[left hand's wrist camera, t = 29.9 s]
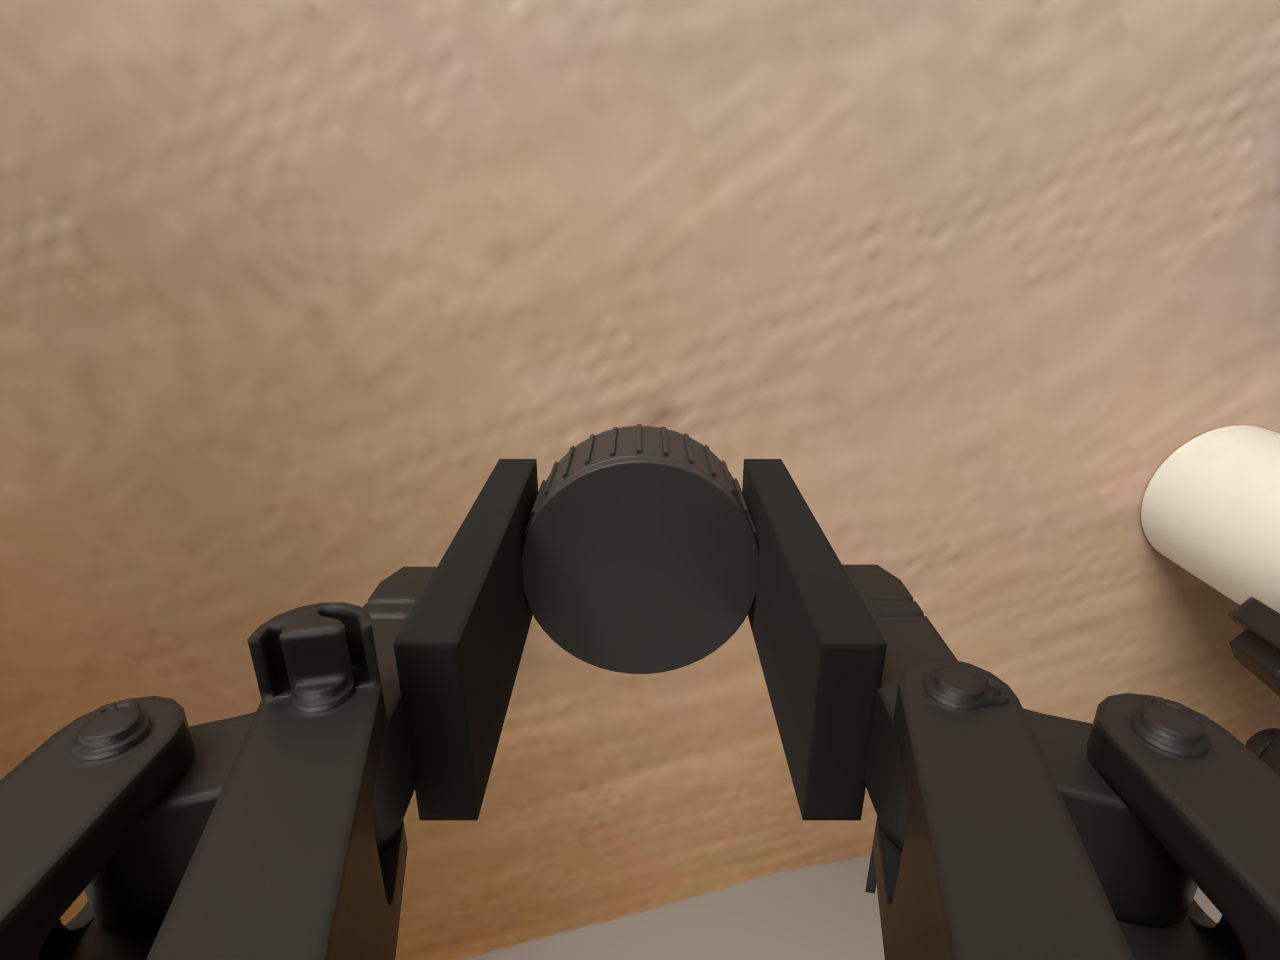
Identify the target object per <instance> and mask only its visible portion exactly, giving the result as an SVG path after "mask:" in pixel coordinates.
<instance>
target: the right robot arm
mask: <svg viewBox="0 0 1280 960" xmlns="http://www.w3.org/2000/svg"><path fill="white" fill-rule="evenodd" d="M1228 616H1229V617H1230V618H1231V619H1232V620H1234V621H1235V622H1236V623H1237V624H1238V625H1239V626H1240V627H1241V628H1243V629H1244V630H1245V631H1244V632H1243V633H1241V634H1240V635H1239V636H1237V637H1236V638H1235V639H1234V640H1232V641H1231V642H1230V645H1231V648H1232V651H1233V654H1234V658H1236V659H1237V660H1238V661H1239V662H1240V663H1241V664H1242V665H1244V666H1245V667H1246V668H1247V669H1248V670H1249V671H1251V672H1252V673H1253V674H1254V675H1255V676H1256V677H1258V678H1259V679H1260V680H1261V681H1262V682H1263V683H1264V684H1266V685H1267V686H1268V687H1269V688H1270V689H1271V690H1272V691H1274V692H1275V693H1276V694H1277V695H1278V696H1279V697H1280V613H1278V612H1276V611H1275V610H1273V609H1272V608H1270V607H1268V606H1267V605H1265V604H1264V603H1262V602H1260V601H1259V600H1257V599H1255V598H1253V597H1249V598H1248V599H1247V600H1246V601H1244V602H1243V603H1242V604H1241V605H1239V606H1238V607H1237V608H1236V609H1234V610H1233V611H1232V612H1231V613H1229V614H1228ZM1245 746H1246V747H1247V748H1248V749H1249V750H1250V751H1252V752H1253V753H1254V754H1255V755H1256V756H1257V757H1259V758H1260V759H1261V760H1262V761H1263V762H1265V763H1266V764H1267V765H1268V766H1269V767H1270V768H1272V769H1273V770H1274V771H1275V772H1276V773H1277V774H1279V775H1280V729H1274V728H1272V729H1266V730H1262V731H1260V732H1258V733H1256V734H1255V735H1253V736H1252V737H1251V738H1250V739H1249V740H1248V741H1247V743H1246V745H1245Z"/></svg>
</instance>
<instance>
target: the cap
mask: <svg viewBox="0 0 1280 960" xmlns="http://www.w3.org/2000/svg"><path fill="white" fill-rule="evenodd" d="M530 515H531V517H530V520H529V523H528V525H527V528H526V531H525V540H524V544H523V548H522V571H523V585H524V595H525V597H526V600H527V603H528V606H529V608H530V610H531V611H532V613H533V615H534V617H535V619H536V620H537V622H538V623H539V625H540V626H541V627H542V629H543V630H544V631H545V632H546V633H547V634H548V636H549V637H550V638H551V639H552V640H553V641H554V642H556V643H557V644H558V645H559V646H560V647H562V648H563V649H564V650H565V651H567V652H569V653H570V654H572V655H573V656H575V657H576V658H578V659H580V660H583V661H585V662H587V663H589V664H591V665H594V666H597V667H600V668H603V669H607V670H611V671H615V672H622V673H630V674H649V673H659V672H665V671H670V670H674V669H678V668H681V667H684V666H687V665H690V664H692V663H694V662H696V661H698V660H700V659H702V658H704V657H706V656H707V655H709V654H711V653H712V652H714V651H715V650H716V649H718V648H719V647H720V646H721V645H723V644H724V643H725V642H726V641H727V640H728V639H729V638H730V637H731V636H732V635H733V634H734V633H735V632H736V631H737V629H738V628H739V627H740V625H741V624H742V623H743V621H744V620H745V618H746V616H747V614H748V613H749V611H750V609H751V607H752V604H753V602H754V599H755V597H756V591H757V578H758V563H759V550H758V545H757V541H756V538H755V536H756V530H755V527H754V524H753V522H752V519H751V516H750V513H749V510H748V507H747V505H746V502H745V499H744V496H743V494H742V491H741V488H740V485H739V483H738V480H737V479H733V477H732V476H731V474H730V472H729V471H728V468H727V465H726V463H725V461H724V460H723V461H720V460H719V459H718V458H717V457H716V456H715V455H714V454H713V453H712V452H711V451H710V449H709V447H708V446H707V445H705V446H703V445H702V444H700V443H699V442H697V441H695V440H693V439H692V438H690V437H689V435H688V434H686V433H685V434H684V435H683V434H680V433H678V432H675V431H671V430H668V429H666V427H661V428H658V427H650V426H641V424H637V426H631V427H622V428H617V427H613V430H609V431H605V432H603V433H600V434H598V435H594V434H593V435H591V436H590V438H589V439H587V440H585V441H584V442H582V443H580V444H579V445H577V446H576V447H574V446H572V447H571V448H570V450H569V452H568V453H567V454H566V455H565V456H564V457H563V458H562V459H561V460H560V461H559V462H555V463H554V465H553V468H552V471H551V473H550V475H549V477H548V478H547V480H546V481H545V480H543V482H542V484H541V487H540V489H539V492H538V495H537V497H536V500H535V503H534V506H533V508H532V511H531V514H530Z"/></svg>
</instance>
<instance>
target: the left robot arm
mask: <svg viewBox="0 0 1280 960" xmlns="http://www.w3.org/2000/svg"><path fill="white" fill-rule="evenodd" d="M742 494H743V496H744V499H745V502H746V505H747V507H748V510H749V513H750V516H751V519H752V522H753V524H754V527H755V530H756V536H755V538H756V541H757V545H758V550H759V563H758V578H757V591H756V597H755V599H754V602H753V604H752V607H751V609H750V611H749V613H748V617H749V621H750V625H751V629H752V632H753V636H754V640H755V644H756V647H757V651H758V655H759V658H760V662H761V666H762V670H763V673H764V677H765V681H766V684H767V688H768V692H769V696H770V699H771V703H772V707H773V711H774V714H775V718H776V722H777V725H778V729H779V733H780V737H781V740H782V744H783V748H784V751H785V755H786V759H787V763H788V766H789V770H790V774H791V778H792V781H793V785H794V789H795V792H796V796H797V800H798V804H799V807H800V811H801V815H802V818H803V820H861V815H862V809H863V802H864V795H865V789H866V788H867V790H868V793H869V796H870V798H871V801H872V803H873V806H874V808H875V811H876V813H877V822H876V828H875V834H874V841H873V847H872V853H871V859H870V865H869V872H868V878H867V885H866V892H870V893H875V889H876V883H877V891H878V900H879V909H880V918H881V927H882V936H883V945H884V954H885V960H1280V775H1279V774H1277V773H1276V772H1275V771H1274V770H1273V769H1272V768H1270V767H1269V766H1268V765H1267V764H1266V763H1265V762H1263V761H1262V760H1261V759H1260V758H1259V757H1257V756H1256V755H1255V754H1254V753H1253V752H1252V751H1250V750H1249V749H1248V748H1247V747H1246V746H1245V745H1243V744H1242V743H1241V742H1240V741H1239V740H1238V739H1236V738H1235V737H1234V736H1233V735H1232V734H1230V733H1229V732H1228V731H1227V730H1225V729H1224V728H1222V727H1221V726H1219V725H1218V724H1216V723H1215V722H1214V721H1212V720H1211V719H1209V718H1208V717H1206V716H1205V715H1202V714H1200V713H1198V712H1196V711H1194V710H1192V709H1189V708H1187V707H1185V706H1184V705H1182V704H1180V703H1177V702H1174V701H1171V700H1168V699H1167V700H1165V699H1163V698H1160V697H1155V696H1150V695H1140V694H1130V693H1125V694H1119V695H1113V696H1108V697H1107V698H1106V699H1105V700H1103V701H1102V702H1101V703H1100V704H1099V705H1098V708H1097V711H1096V715H1095V718H1094V721H1093V724H1090V723H1085V722H1081V721H1076V720H1071V719H1066V718H1061V717H1056V716H1051V715H1046V714H1042V713H1038V712H1034V711H1031V710H1027V709H1023V708H1022V706H1021V704H1020V702H1019V699H1018V698H1017V697H1016V695H1015V694H1014V693H1013V691H1012V690H1011V689H1010V687H1009V686H1008V685H1007V684H1006V683H1004V682H1003V681H1001V680H1000V679H999V678H997V677H996V676H994V675H993V674H992V673H990V672H988V671H986V670H983V669H981V668H979V667H976V666H974V665H972V664H969V663H965V662H960V661H958V660H957V659H956V657H955V656H954V655H953V653H952V652H951V650H950V649H949V648H948V646H947V645H946V643H945V642H944V641H943V639H942V638H941V636H940V635H939V634H938V632H937V631H936V629H935V628H934V627H933V625H932V624H931V622H930V621H929V620H928V618H927V617H926V616H924V615H923V611H922V610H921V608H920V607H919V606H918V604H917V603H916V601H913V597H912V596H911V594H910V593H909V591H908V590H907V589H906V587H905V586H904V584H903V583H902V582H901V580H900V579H898V578H896V577H895V576H893V575H892V574H890V573H889V572H887V571H886V570H884V569H883V568H881V567H880V566H878V565H842V564H841V562H840V561H839V559H838V557H837V555H836V554H835V552H834V550H833V549H832V547H831V545H830V543H829V542H828V540H827V538H826V536H825V535H824V533H823V531H822V529H821V528H820V526H819V524H818V523H817V521H816V519H815V517H814V516H813V514H812V512H811V510H810V509H809V507H808V505H807V503H806V502H805V500H804V498H803V497H802V495H801V493H800V491H799V490H798V488H797V486H796V484H795V483H794V481H793V479H792V477H791V476H790V474H789V472H788V471H787V469H786V467H785V465H784V464H783V462H782V460H781V459H744V470H743V488H742ZM537 495H538V480H537V462H536V459H499V461H498V463H497V464H496V466H495V468H494V470H493V471H492V473H491V475H490V477H489V478H488V480H487V482H486V483H485V485H484V487H483V489H482V490H481V492H480V494H479V496H478V497H477V499H476V501H475V503H474V504H473V506H472V508H471V509H470V511H469V513H468V515H467V516H466V518H465V520H464V522H463V523H462V525H461V527H460V529H459V530H458V532H457V534H456V536H455V537H454V539H453V541H452V542H451V544H450V546H449V548H448V549H447V551H446V553H445V555H444V556H443V558H442V560H441V562H440V563H439V565H438V567H403V568H401V569H400V570H398V571H397V572H395V573H394V574H392V575H391V576H389V577H388V578H386V579H385V580H383V581H382V582H380V584H379V585H378V587H377V588H376V589H375V591H374V592H373V594H372V595H371V596H370V598H369V599H368V604H365V605H364V606H363V608H361V607H360V606H356V605H352V604H347V603H319V604H313V605H308V606H303V607H299V608H296V609H293V610H291V611H288V612H285V613H282V614H280V615H277V616H275V617H274V618H272V619H271V620H269V621H267V622H266V623H264V624H262V625H261V626H259V627H258V628H257V629H256V630H255V632H254V633H253V634H252V635H251V636H250V637H249V638H248V643H249V648H250V652H251V656H252V660H253V665H254V669H255V673H256V677H257V681H258V686H259V690H260V694H261V698H262V701H261V703H260V705H259V707H258V710H257V712H254V713H250V714H246V715H243V716H239V717H234V718H229V719H224V720H219V721H215V722H210V723H205V724H200V725H195V726H190V727H189V726H188V723H187V719H186V716H185V712H184V709H183V707H182V706H180V705H179V704H178V703H177V702H176V701H174V700H173V699H168V698H162V697H156V696H152V697H142V698H132V699H127V700H122V701H118V702H117V703H115V702H114V703H111V704H108V705H105V706H102V707H100V708H98V709H97V710H95V711H92V712H90V713H88V714H86V715H84V716H82V717H80V718H77V719H76V720H74V721H73V722H71V723H70V724H68V725H67V726H66V727H64V728H63V729H61V730H60V731H58V732H57V733H55V734H54V735H53V736H52V737H50V738H49V739H48V740H47V741H46V742H45V743H43V744H42V745H41V746H40V747H39V748H38V749H36V750H35V751H34V752H33V753H32V754H31V755H29V756H28V757H27V758H26V759H25V760H24V761H22V762H21V763H20V764H19V765H18V766H17V767H15V768H14V769H13V770H12V771H11V772H10V773H9V774H7V775H6V776H5V777H4V778H3V779H2V780H0V960H395V956H396V947H397V938H398V929H399V920H400V911H401V902H402V893H403V883H404V874H405V865H406V856H407V841H406V834H405V828H404V822H403V818H404V816H405V813H406V810H407V808H408V805H409V803H410V800H411V798H412V795H413V793H414V790H415V792H416V799H417V805H418V812H419V819H420V820H478V816H479V813H480V809H481V805H482V802H483V798H484V794H485V790H486V787H487V783H488V779H489V776H490V772H491V768H492V764H493V761H494V757H495V753H496V749H497V746H498V742H499V738H500V735H501V731H502V727H503V723H504V720H505V716H506V712H507V708H508V705H509V701H510V697H511V694H512V690H513V686H514V682H515V679H516V675H517V671H518V668H519V664H520V660H521V656H522V653H523V649H524V645H525V641H526V638H527V634H528V630H529V627H530V623H531V619H532V615H533V613H532V611H531V610H530V608H529V606H528V603H527V600H526V597H525V595H524V585H523V571H522V548H523V544H524V540H525V531H526V528H527V525H528V523H529V520H530V517H531V515H530V514H531V511H532V508H533V506H534V503H535V500H536V497H537ZM1198 887H1199V888H1200V889H1201V890H1202V891H1203V893H1204V894H1205V895H1206V896H1207V897H1208V898H1209V900H1210V901H1211V902H1212V903H1213V904H1214V905H1215V907H1216V908H1217V909H1218V910H1219V911H1220V912H1221V914H1222V917H1221V920H1220V921H1219V922H1218V924H1217V923H1215V922H1214V921H1213V920H1212V919H1211V918H1210V917H1209V916H1208V915H1207V914H1206V913H1205V912H1204V911H1203V910H1202V909H1201V908H1200V906H1199V905H1198V904H1197V903H1196V902H1195V900H1194V899H1193V898H1194V895H1195V893H1196V890H1197V888H1198ZM83 890H84V891H85V894H86V896H87V899H88V903H87V904H86V905H85V906H84V907H83V909H82V910H81V911H80V912H79V913H78V915H77V916H76V917H74V918H73V919H72V920H71V921H70V922H69V923H68V924H66V925H65V926H64V925H63V924H62V923H61V920H60V917H61V916H62V915H63V914H64V913H65V911H66V910H67V909H68V908H69V907H70V905H71V904H72V903H73V902H74V901H75V900H76V898H77V897H78V896H79V895H80V894H81V893H82V891H83Z"/></svg>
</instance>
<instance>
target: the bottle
mask: <svg viewBox="0 0 1280 960" xmlns="http://www.w3.org/2000/svg"><path fill="white" fill-rule="evenodd" d="M1141 521H1142V527H1143V530H1144V533H1145V535H1146V537H1147V539H1148V541H1149V542H1150V544H1151V545H1152V546H1153V547H1154V548H1155V549H1156V550H1157V551H1158V552H1159V553H1160V554H1162V555H1163V556H1165V557H1167V558H1168V559H1170V560H1171V561H1173V562H1174V563H1176V564H1177V565H1179V566H1180V567H1182V568H1183V569H1185V570H1186V571H1188V572H1190V573H1191V574H1193V575H1194V576H1196V577H1197V578H1199V579H1200V580H1202V581H1203V582H1205V583H1206V584H1208V585H1209V586H1211V587H1213V588H1214V589H1216V590H1217V591H1219V592H1220V593H1222V594H1223V595H1225V596H1226V597H1228V598H1229V599H1231V600H1232V601H1234V602H1236V603H1237V604H1239V605H1241V604H1242V603H1243V602H1244V601H1246V600H1247V599H1248V598H1249V597H1253V598H1255V599H1257V600H1259V601H1260V602H1262V603H1264V604H1265V605H1267V606H1268V607H1270V608H1272V609H1273V610H1275V611H1276V612H1278V613H1280V434H1278V433H1275V432H1273V431H1270V430H1267V429H1264V428H1260V427H1256V426H1250V425H1237V426H1228V427H1223V428H1218V429H1215V430H1212V431H1209V432H1206V433H1204V434H1202V435H1200V436H1197V437H1196V438H1194V439H1192V440H1190V441H1189V442H1187V443H1185V444H1184V445H1183V446H1181V447H1180V448H1178V449H1177V450H1176V451H1175V452H1174V453H1173V454H1171V455H1170V456H1169V457H1168V458H1167V459H1166V460H1165V461H1164V463H1163V464H1162V465H1161V466H1160V467H1159V469H1158V470H1157V471H1156V473H1155V474H1154V476H1153V477H1152V479H1151V481H1150V483H1149V485H1148V487H1147V489H1146V492H1145V495H1144V498H1143V502H1142V508H1141Z"/></svg>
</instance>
